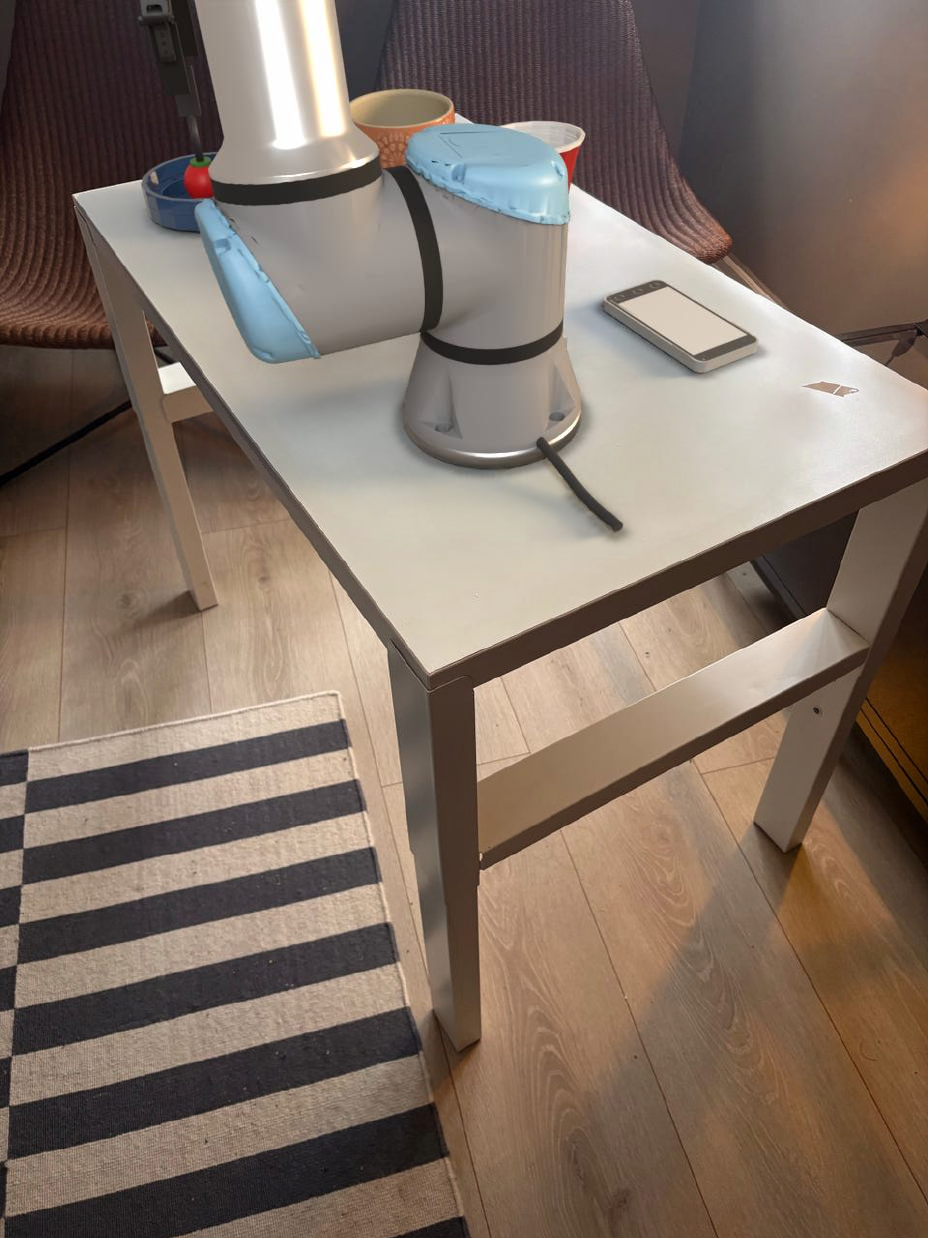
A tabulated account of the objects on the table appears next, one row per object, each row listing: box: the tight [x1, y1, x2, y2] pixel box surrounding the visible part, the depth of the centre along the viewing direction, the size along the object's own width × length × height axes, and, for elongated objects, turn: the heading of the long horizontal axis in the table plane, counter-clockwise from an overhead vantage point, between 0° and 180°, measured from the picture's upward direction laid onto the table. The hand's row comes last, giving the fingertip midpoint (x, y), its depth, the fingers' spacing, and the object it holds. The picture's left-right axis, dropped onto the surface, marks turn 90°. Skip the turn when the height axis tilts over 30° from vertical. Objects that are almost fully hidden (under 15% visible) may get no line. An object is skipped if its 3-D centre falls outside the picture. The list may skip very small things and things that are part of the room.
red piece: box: [174, 64, 214, 199], centre depth 115 cm, size 5×5×15 cm
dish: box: [140, 151, 219, 232], centre depth 119 cm, size 14×14×4 cm
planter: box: [349, 88, 456, 169], centre depth 116 cm, size 12×12×11 cm
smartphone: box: [603, 278, 759, 374], centre depth 97 cm, size 7×1×15 cm
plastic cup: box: [497, 120, 586, 195], centre depth 107 cm, size 11×11×12 cm
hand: (182, 74), depth 110 cm, fingers open, 13 cm apart
